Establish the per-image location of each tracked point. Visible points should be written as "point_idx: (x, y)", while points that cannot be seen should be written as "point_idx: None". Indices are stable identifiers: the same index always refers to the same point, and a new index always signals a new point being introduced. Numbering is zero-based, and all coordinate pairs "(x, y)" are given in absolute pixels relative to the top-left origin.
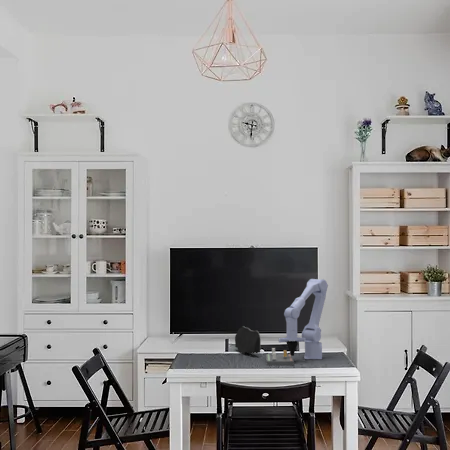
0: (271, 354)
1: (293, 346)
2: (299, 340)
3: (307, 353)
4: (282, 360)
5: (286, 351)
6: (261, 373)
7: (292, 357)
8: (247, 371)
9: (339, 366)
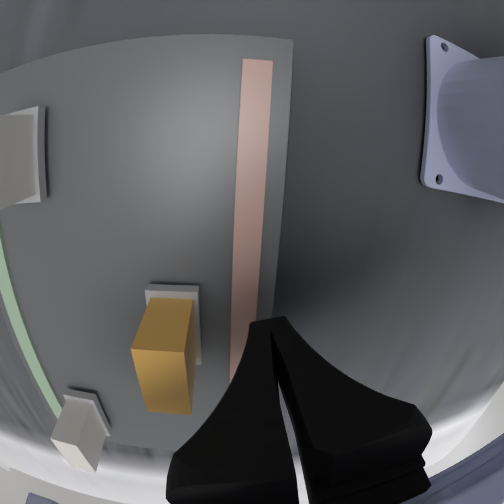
0: (14, 85)
1: (304, 477)
2: (466, 483)
3: (483, 172)
4: (160, 428)
5: (187, 409)
6: (110, 499)
7: (273, 303)
8: (50, 472)
9: (474, 397)
